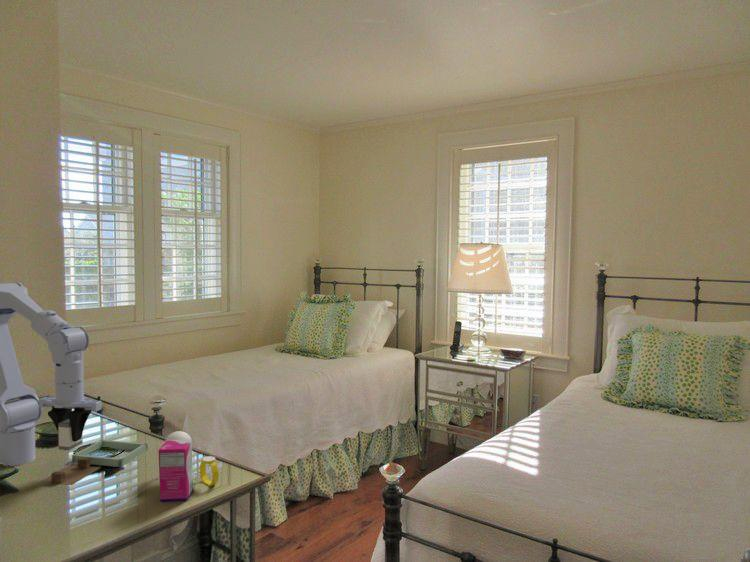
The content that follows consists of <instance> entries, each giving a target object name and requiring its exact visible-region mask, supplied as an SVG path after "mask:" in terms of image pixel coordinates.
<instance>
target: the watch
mask: <svg viewBox="0 0 750 562" xmlns="http://www.w3.org/2000/svg"><path fill="white" fill-rule="evenodd" d="M206 465H209V466H210V470H211V473H212V474H211V475H212V480H209V478H208V476H207V472H206ZM199 476H200V479H201V481H202V483H203V484H205V485H206V486H208V487H212V486H215V485H216V484H217V483H218V482H219V469H218V465H217V463H216V457H215V456H209V455H208V456H205V457H203V458H202V460H201V461H200V464H199Z"/></svg>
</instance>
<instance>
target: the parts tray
mask: <svg viewBox="0 0 750 562" xmlns="http://www.w3.org/2000/svg"><path fill="white" fill-rule="evenodd" d="M102 446H105V447H110V448H109V449H113V448H114V450H115V449H117V450H127V451H129V452H128V453H127V454H125V455H123V456H121V457H120V458H119V457H109V456H98V455H86V454H88V453H90V452H92V451H94V450H96V449H98V448H100V447H102ZM148 448H149V447H148V443H146V442H145V443H144V442H133V441H123V440H122V441H121V440H110V439H100V440H99V441H97V442H95V443H93V444H91V445H89V446H87V447H86V448H83V449H81V450H80V451H78V452H76V453H74V454H72V455H71V457H72V459H71V460H72V464H73V463H74V464H78V459H79V458H81V457H83V458H90V465H92V466H93V465H94V466H95V465H97V466H105V467H106V466H107V467H117V468H122V467H123V466H125V465H127V464H128V463H130V462H131V461H133V460H135V459H136V458H137V457H139V456H141V455H142V454H144V453H145V452H147V451H148Z"/></svg>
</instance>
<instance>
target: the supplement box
mask: <svg viewBox="0 0 750 562" xmlns="http://www.w3.org/2000/svg"><path fill="white" fill-rule="evenodd" d="M191 439H192V438H191ZM191 439H187V440H166V439H165V440H166V441H164V442H163V444H162V445H161V446H160V447H159V449H158V450H157V451H158V476H159V477H158V478H159V501H160V502H161V503H162V502H164V503H165V502H188V501H189V498H190V496H191V494H192V493H193V492H194V473H193V471H194V470H193V469H194V468H193V440H191Z"/></svg>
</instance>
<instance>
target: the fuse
mask: <svg viewBox="0 0 750 562" xmlns="http://www.w3.org/2000/svg"><path fill="white" fill-rule="evenodd" d="M58 430H59V434H58V450H62V451H71V450H72V449H75V448H77V447H79V446H80V445H83V443H84V442H83V438H84V437H83V436H82V437H81V439H80V440H78V441H76V442H74V441H73V440H72V433H71V424H70V420H69V419H67V420H65V421H63V422H60V423H58Z"/></svg>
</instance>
